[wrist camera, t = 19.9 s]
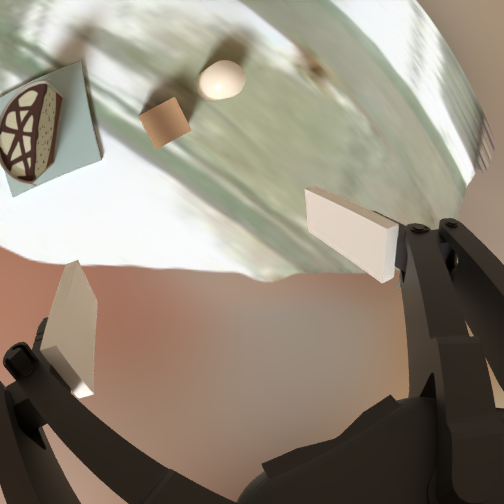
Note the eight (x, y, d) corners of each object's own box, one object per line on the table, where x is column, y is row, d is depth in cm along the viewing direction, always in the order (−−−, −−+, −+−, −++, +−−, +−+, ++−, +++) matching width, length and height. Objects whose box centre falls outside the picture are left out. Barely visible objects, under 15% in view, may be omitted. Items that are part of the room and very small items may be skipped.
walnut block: (170, 99, 36) (175, 96, 32) (185, 129, 39) (191, 130, 35) (138, 116, 35) (138, 115, 31) (154, 146, 38) (156, 149, 34)
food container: (28, 86, 26) (0, 78, 17) (66, 85, 28) (46, 75, 20) (16, 172, 30) (-12, 188, 22) (53, 173, 33) (31, 189, 24)
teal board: (81, 62, 28) (80, 60, 28) (101, 159, 36) (101, 160, 35) (-8, 103, 25) (-10, 103, 24) (15, 195, 32) (12, 197, 31)
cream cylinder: (225, 67, 37) (241, 58, 31) (230, 98, 39) (247, 94, 33) (191, 72, 35) (202, 63, 29) (197, 104, 38) (209, 100, 32)
